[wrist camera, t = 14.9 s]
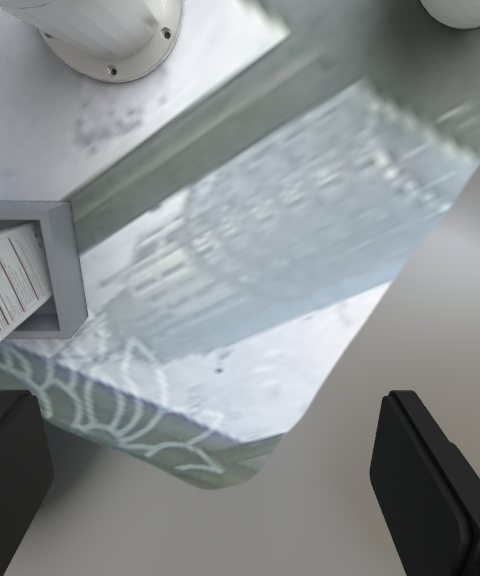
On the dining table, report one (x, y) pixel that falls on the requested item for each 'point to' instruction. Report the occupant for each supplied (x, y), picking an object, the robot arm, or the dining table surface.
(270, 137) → the dining table surface
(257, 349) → the dining table surface
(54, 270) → the bin
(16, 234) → the supplement box
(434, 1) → the toilet tissue
